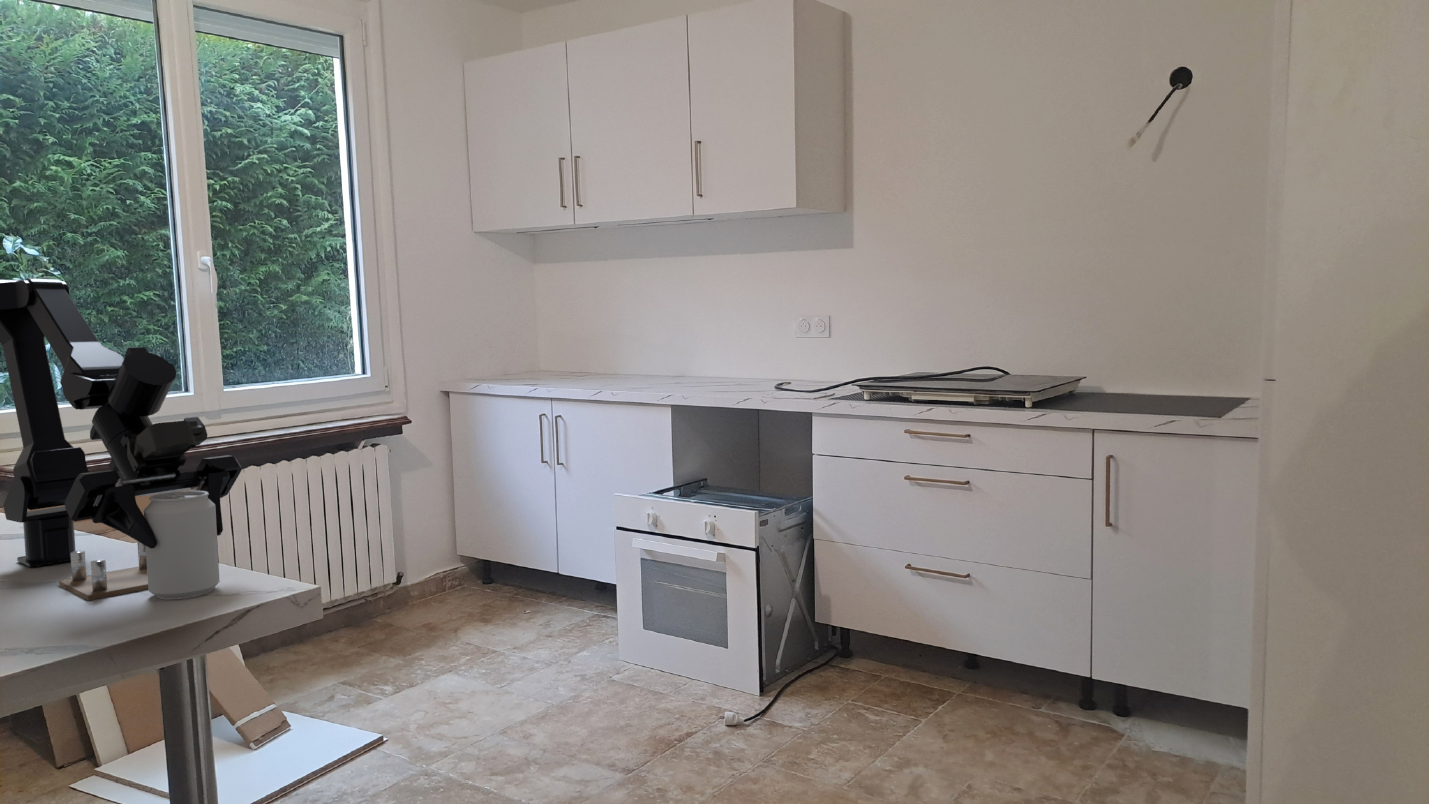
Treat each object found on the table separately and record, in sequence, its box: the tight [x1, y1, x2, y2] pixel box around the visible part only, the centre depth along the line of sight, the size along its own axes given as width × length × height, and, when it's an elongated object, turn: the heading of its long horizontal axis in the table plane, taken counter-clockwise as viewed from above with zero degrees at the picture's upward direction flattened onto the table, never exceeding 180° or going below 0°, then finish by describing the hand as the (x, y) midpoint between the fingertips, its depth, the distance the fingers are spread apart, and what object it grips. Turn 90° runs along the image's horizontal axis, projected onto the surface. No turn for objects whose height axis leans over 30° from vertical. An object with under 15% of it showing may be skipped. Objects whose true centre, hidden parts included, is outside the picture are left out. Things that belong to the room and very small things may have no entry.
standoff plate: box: [58, 541, 148, 601], centre depth 121 cm, size 11×11×4 cm
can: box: [143, 490, 221, 601], centre depth 116 cm, size 8×8×12 cm
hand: (188, 539), depth 115 cm, fingers closed on can, 7 cm apart
